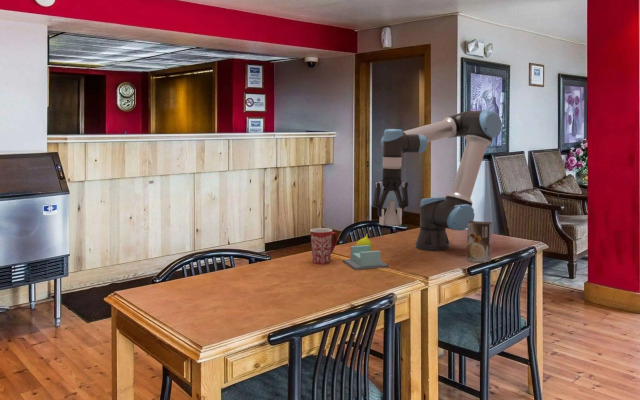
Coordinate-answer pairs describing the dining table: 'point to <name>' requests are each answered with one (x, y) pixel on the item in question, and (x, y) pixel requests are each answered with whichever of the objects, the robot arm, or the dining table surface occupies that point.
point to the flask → (391, 214)
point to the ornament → (364, 242)
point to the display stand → (364, 258)
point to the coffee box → (479, 241)
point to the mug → (322, 245)
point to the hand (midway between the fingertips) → (390, 224)
